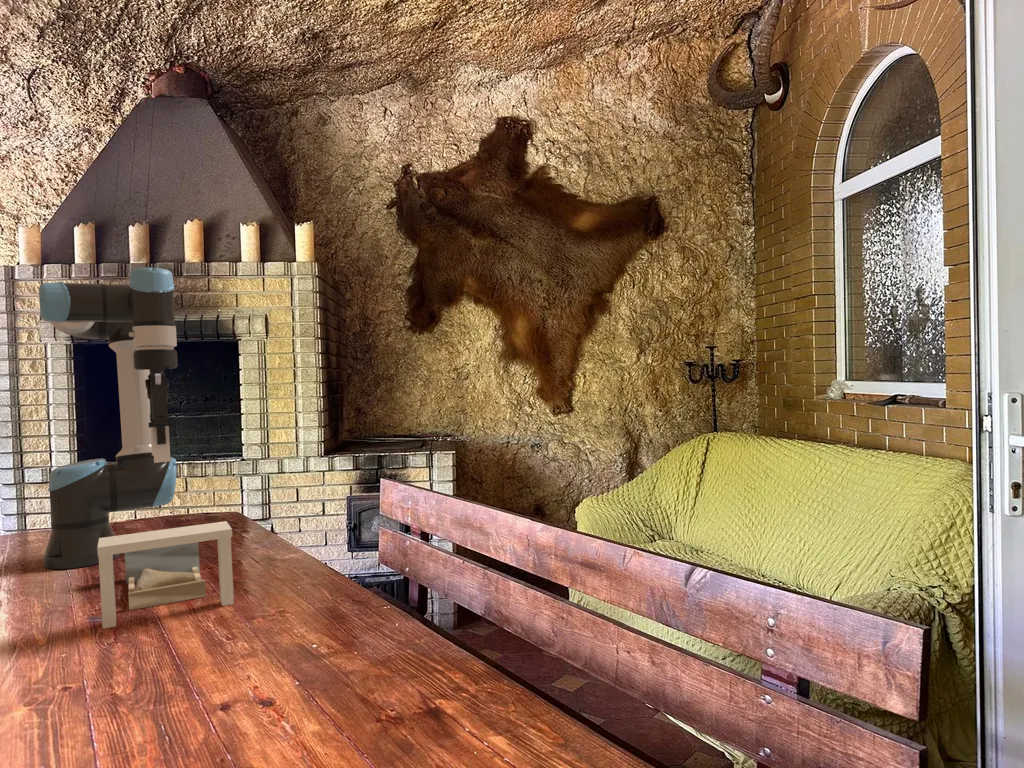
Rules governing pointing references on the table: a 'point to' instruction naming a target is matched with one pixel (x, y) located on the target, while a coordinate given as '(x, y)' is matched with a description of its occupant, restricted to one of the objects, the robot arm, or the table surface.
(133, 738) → the table surface
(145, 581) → the stone
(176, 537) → the shelf
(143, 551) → the rock display tray
